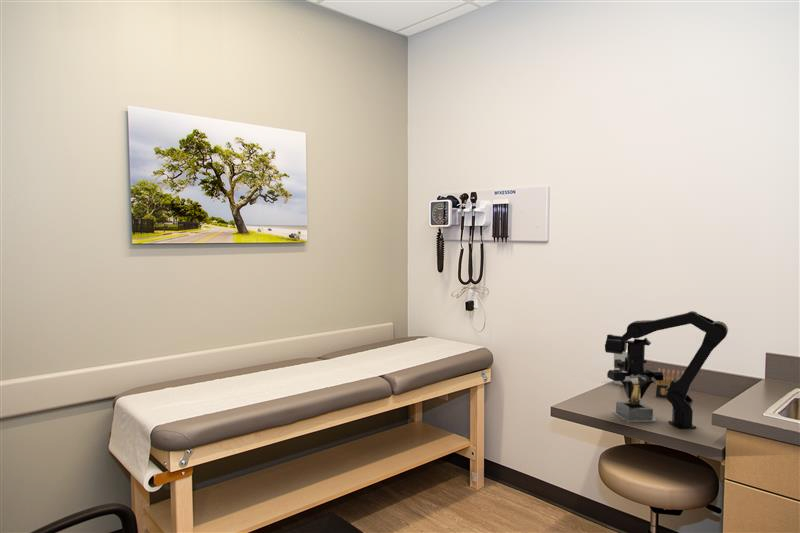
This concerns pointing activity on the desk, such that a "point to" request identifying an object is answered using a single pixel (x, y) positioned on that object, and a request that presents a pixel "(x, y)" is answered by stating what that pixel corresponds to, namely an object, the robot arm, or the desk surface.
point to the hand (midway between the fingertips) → (634, 398)
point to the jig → (634, 412)
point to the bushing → (635, 393)
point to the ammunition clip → (665, 383)
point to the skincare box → (622, 357)
